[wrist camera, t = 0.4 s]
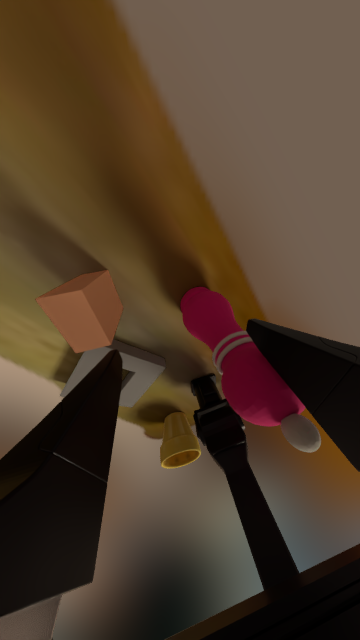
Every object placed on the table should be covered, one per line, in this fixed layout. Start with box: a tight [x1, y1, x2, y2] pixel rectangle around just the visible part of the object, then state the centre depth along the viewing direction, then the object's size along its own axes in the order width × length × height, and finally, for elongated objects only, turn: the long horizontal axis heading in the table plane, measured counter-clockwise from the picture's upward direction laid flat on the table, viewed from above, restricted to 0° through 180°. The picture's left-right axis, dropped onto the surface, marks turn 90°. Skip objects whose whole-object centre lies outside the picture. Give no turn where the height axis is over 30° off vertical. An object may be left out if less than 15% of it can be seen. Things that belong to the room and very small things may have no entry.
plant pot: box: [160, 412, 201, 468], centre depth 38 cm, size 10×10×10 cm
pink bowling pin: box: [180, 287, 321, 452], centre depth 16 cm, size 7×7×20 cm
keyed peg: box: [35, 270, 123, 353], centre depth 16 cm, size 6×4×9 cm, turn 8°
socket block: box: [60, 339, 166, 407], centre depth 27 cm, size 14×14×3 cm
